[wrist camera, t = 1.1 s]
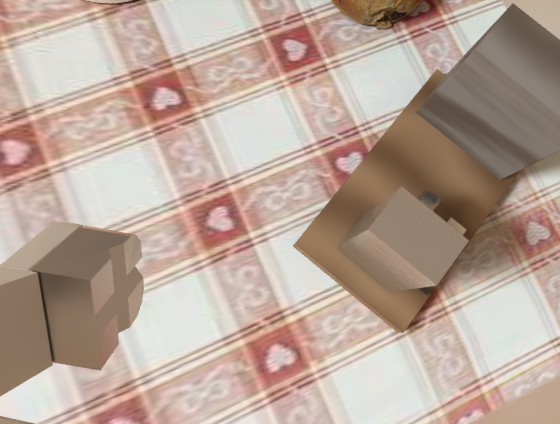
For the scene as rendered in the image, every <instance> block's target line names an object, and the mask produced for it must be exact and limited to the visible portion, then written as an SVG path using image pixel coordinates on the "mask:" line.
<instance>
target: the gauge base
mask: <svg viewBox="0 0 560 424" xmlns="http://www.w3.org/2000/svg"><path fill="white" fill-rule="evenodd" d="M558 151H560V40H559V39H558V38H557V37H555V36H554V35H553V34H551V33H550V32H549V31H547V30H546V29H545V28H544V27H542V26H541V25H540V24H539V23H537V22H536V21H535V20H534V19H532V18H531V17H530V16H529V15H527V14H526V13H525V12H523V11H522V10H521V9H520V8H518V7H517V6H516V5H514V4H512V5H511V6H510V7H509V8H508V9H507V10H506V11H505V12H504V13H503V15H502V16H501V17H500V18H499V19H498V20H497V21H496V22H495V23H494V24H493V25H492V26H491V27H490V28H489V30H488V31H487V32H486V33H485V34H484V35H483V36H482V37H481V38H480V39H479V40H478V41H477V42H476V44H475V45H474V46H473V47H472V48H471V49H470V50H469V51H468V52H467V53H466V54H465V55H464V56H463V57H462V59H461V60H460V61H459V62H458V63H457V64H456V65H455V66H454V67H453V68H452V69H451V70H450V71H449V73H448V74H447V75H444V74H443V73H442V72H441V71H439V70H438V69H437V70H436V71H435V72H434V74H433V75H432V76H431V77H430V78H429V80H428V81H427V82H426V83H425V85H424V86H423V87H422V88H421V89H420V91H419V92H418V93H417V94H416V96H415V97H414V98H413V99H412V100H411V102H410V103H409V104H408V105H407V107H406V108H405V109H404V110H403V112H402V113H401V114H400V115H399V116H398V118H397V119H396V120H395V121H394V123H393V124H392V125H391V126H390V128H389V129H388V130H387V131H386V132H385V134H384V135H383V136H382V137H381V139H380V140H379V141H378V142H377V143H376V145H375V146H374V147H373V148H372V150H371V151H370V152H369V153H368V155H367V156H366V157H365V158H364V159H363V161H362V162H361V163H360V164H359V166H358V167H357V168H356V169H355V171H354V172H353V173H352V174H351V175H350V177H349V178H348V179H347V180H346V182H345V183H344V184H343V185H342V186H341V188H340V189H339V190H338V191H337V193H336V194H335V195H334V196H333V198H332V199H331V200H330V201H329V202H328V204H327V205H326V206H325V207H324V209H323V210H322V211H321V212H320V214H319V215H318V216H317V217H316V218H315V220H314V221H313V222H312V223H311V225H310V226H309V227H308V228H307V229H306V231H305V232H304V233H303V234H302V236H301V237H300V238H299V239H298V241H297V242H296V243H295V244H294V245H293V247H295V248H296V249H297V250H298V251H300V252H301V253H302V254H303V255H304V256H306V257H307V258H308V259H309V260H310V261H312V262H313V263H314V264H315V265H317V266H318V267H319V268H320V269H321V270H323V271H324V272H325V273H326V274H327V275H329V276H330V277H331V278H332V279H334V280H335V281H336V282H337V283H338V284H340V285H341V286H342V287H343V288H344V289H346V290H347V291H348V292H349V293H351V294H352V295H353V296H354V297H355V298H357V299H358V300H359V301H360V302H361V303H363V304H364V305H365V306H366V307H368V308H369V309H370V310H371V311H372V312H374V313H375V314H376V315H377V316H378V317H380V318H381V319H382V320H383V321H385V322H386V323H387V324H388V325H389V326H391V327H392V328H393V329H394V330H395V331H397V332H401V333H403V332H404V331H405V329H406V328H407V327H408V325H409V324H410V322H411V321H412V320H413V318H414V317H415V316H416V314H417V313H418V311H419V310H420V309H421V307H422V306H423V304H424V303H425V302H426V300H427V299H428V298H429V296H430V295H431V293H432V292H433V291H434V289H435V288H436V286H430V287H427V288H429V289H430V290H431V292H430V293H429V294H428V295H426V294H424V293H423V292H422V291H421V290H419V289H418V288H416V289H409V290H401V291H394V292H390V291H389V290H388V289H387V288H385V287H384V286H383V285H382V284H381V283H379V282H378V281H377V280H376V279H374V278H373V277H372V276H371V275H370V274H368V273H367V272H366V271H365V270H363V269H362V268H361V267H360V266H359V265H357V264H356V263H355V262H354V261H352V260H351V259H350V258H349V257H348V256H346V255H345V254H344V253H343V252H342V251H340V250H339V249H338V248H337V247H338V246H339V244H340V243H341V242H342V241H343V239H344V238H345V237H346V236H347V234H348V233H349V232H350V230H351V229H352V228H353V227H354V225H355V224H356V223H357V222H358V220H359V219H360V218H361V217H362V215H363V214H364V213H365V212H366V211H368V210H369V209H371V208H372V207H373V206H375V205H376V204H378V203H379V202H380V201H382V200H383V199H385V198H386V197H387V196H389V195H390V194H391V193H393V192H394V191H396V190H397V189H398V188H400V187H401V186H402V187H403V188H405V189H406V190H407V191H408V192H410V193H411V194H412V195H413V196H414V197H416V198H417V199H418V198H419V196H420V195H421V194H422V193H423V191H425V190H427V191H430V192H432V193H434V194H435V195H437V196H438V197H439V199H440V201H441V202H440V204H439V205H438V207H437V208H436V209H435V210H434V213H435V214H437V215H438V216H439V217H440V218H442V219H443V220H444V221H445V222H447V223H448V224H449V225H450V226H452V227H453V228H454V229H455V230H457V231H458V232H459V233H460V234H461V235H463V236H464V237H465V238H466V239H468V240H469V241H470V239H471V238H472V237H473V235H474V234H475V232H476V231H477V230H478V228H479V227H480V226H481V224H482V223H483V221H484V220H485V219H486V217H487V216H488V214H489V213H490V212H491V210H492V209H493V207H494V206H495V205H496V203H497V202H498V201H499V199H500V198H501V196H502V195H503V194H504V192H505V191H506V189H507V188H508V187H509V185H510V184H511V183H512V181H513V180H514V178H515V177H516V176H517V174H518V173H519V171H520V170H521V169H523V168H525V167H527V166H529V165H531V164H534V163H536V162H538V161H540V160H542V159H544V158H546V157H548V156H550V155H552V154H554V153H556V152H558ZM467 244H468V243H467ZM467 244H466V245H467ZM464 248H465V247H464ZM461 252H462V251H461ZM459 255H460V254H459ZM459 255H458V256H459ZM456 259H457V258H456ZM454 262H455V261H454ZM454 262H453V263H454ZM451 266H452V265H451ZM448 270H449V269H448ZM446 273H447V272H446ZM446 273H445V274H446ZM443 277H444V276H443ZM441 280H442V279H441ZM441 280H440V281H441ZM438 284H439V283H438Z"/></svg>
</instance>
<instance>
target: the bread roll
mask: <svg viewBox="0 0 560 424" xmlns="http://www.w3.org/2000/svg"><path fill="white" fill-rule="evenodd" d="M422 1H423V0H332V2H333V4H334V5H335V6H337V8H338V9H339V10H340V11H341V12H342V13H343V14H345V15H347V16H349V17H350V18H351V19H353V20H354V21H356V22H358V23H360V24H364V25H374V26H375V27H376V28H377V29H387V28H389V27H391V26H392V24H391V23H392V22H396V21H398V20H399V19H401V18H403V17H405V16H406V15H408V14H410V13H412V12H413V11H414V10H415V9H416V8H417V7H418V6H419V5H420V4H421V3H422Z"/></svg>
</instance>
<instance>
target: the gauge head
mask: <svg viewBox="0 0 560 424" xmlns="http://www.w3.org/2000/svg"><path fill="white" fill-rule="evenodd" d="M440 202H441V201H440V199H439V197H438V196H437V195H435V194H434V193H432V192H430V191H427V190H425V191H423V193H422V194H421V195H420V196H419V198H418V199H417V198H416V197H414V196H413V195H412V194H411V193H410V192H408V191H407V190H406V189H405V188H403V187H402V186H401V187H400V188H398V189H397V190H396V191H394V192H393V193H391V194H390V195H389V196H387V197H386V198H385V199H383V200H382V201H380V202H379V203H378V204H376V205H375V206H373V207H372V208H371V209H369V210H368V211H366V212H365V213H364V214H363V215H362V217H361V218H360V219H359V220H358V222H357V223H356V224H355V225H354V227H353V228H352V229H351V230H350V232H349V233H348V234H347V236H346V237H345V238H344V239H343V241H342V242H341V243H340V244H339V246H338V247H337V248H338V249H339V250H340V251H342V252H343V253H344V254H345V255H346V256H348V257H349V258H350V259H351V260H352V261H354V262H355V263H356V264H357V265H359V266H360V267H361V268H362V269H363V270H365V271H366V272H367V273H368V274H370V275H371V276H372V277H373V278H374V279H376V280H377V281H378V282H379V283H381V284H382V285H383V286H384V287H385V288H387V289H388V290H389V291H390V292H394V291H401V290H409V289H416V288H418V289H419V290H421V291H422V292H423V293H424V294H426V295H428V294H429V293H430V292H431V290H430V289H429V288H427V287H430V286H437V285H438V283H439V282H440V280H441V279H442V278H443V276H444V275H445V273H446V272H447V271H448V269H449V268H450V267H451V265H452V264H453V262H454V261H455V260H456V258H457V257H458V255H459V254H460V253H461V251H462V250H463V249H464V247H465V246H466V244H467V243H468V242H469V240H468V239H466V238H465V237H464V236H463V235H461V234H460V233H459V232H458V231H457V230H455V229H454V228H453V227H452V226H450V225H449V224H448V223H447V222H445V221H444V220H443V219H442V218H440V217H439V216H438V215H437V214H435V213H434V210H435V209H436V208H437V207H438V205H439V204H440Z"/></svg>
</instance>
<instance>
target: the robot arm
mask: <svg viewBox="0 0 560 424" xmlns="http://www.w3.org/2000/svg"><path fill="white" fill-rule="evenodd" d="M87 1H91V2H97V3H121V2H127V1H132V0H87ZM141 257H142V252H141V241H140V239H139V238H138V237H137V235H134V234H128V233H123V232H117V231H112V230H106V229H101V228H95V227H90V226H83V225H80V224H73V223H66V222H53V223H52V224H50V225H49V226H48V227H47V228H46V229H44V230H43V231H42V232H41V233H39V234H38V235H37V236H36V237H34V238H33V239H32V240H31V241H29V242H28V243H27V244H26V245H25V246H23V247H22V248H21V249H20V250H18V251H17V252H16V253H15V254H13V255H12V256H11V257H10V258H9V259H7V260H6V261H5V262H4V263H2V264H1V265H0V396H2V395H3V394H5V393H7V392H8V391H10V390H12V389H13V388H15V387H17V386H18V385H20V384H22V383H23V382H25V381H27V380H28V379H30V378H32V377H33V376H35V375H37V374H38V373H40V372H42V371H43V370H45V369H47V368H48V367H50V366H52V365H53V363H52V362H54V363H60V364H66V365H72V366H78V367H83V368H89V369H95V370H101V369H102V367H103V366H104V365H105V363H106V362H107V360H108V359H109V357H110V356H111V354H112V353H113V351H114V350H115V349H116V347H117V346H118V344H119V341H118V333H119V332H121V331H123V330H125V329H127V328H129V327H131V325H132V323H133V322H134V320H135V319H136V317H137V315H138V312H139V309H140V306H141V303H142V298H143V290H144V286H143V277H142V275H141V274H140V272H139V271H138V270H137V268H136V267H135V265H136V264H137V262H138V261H139V260H140V259H141ZM0 424H34V423H30V422H25V421H20V420H16V419H11V418H7V417H2V416H0Z"/></svg>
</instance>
